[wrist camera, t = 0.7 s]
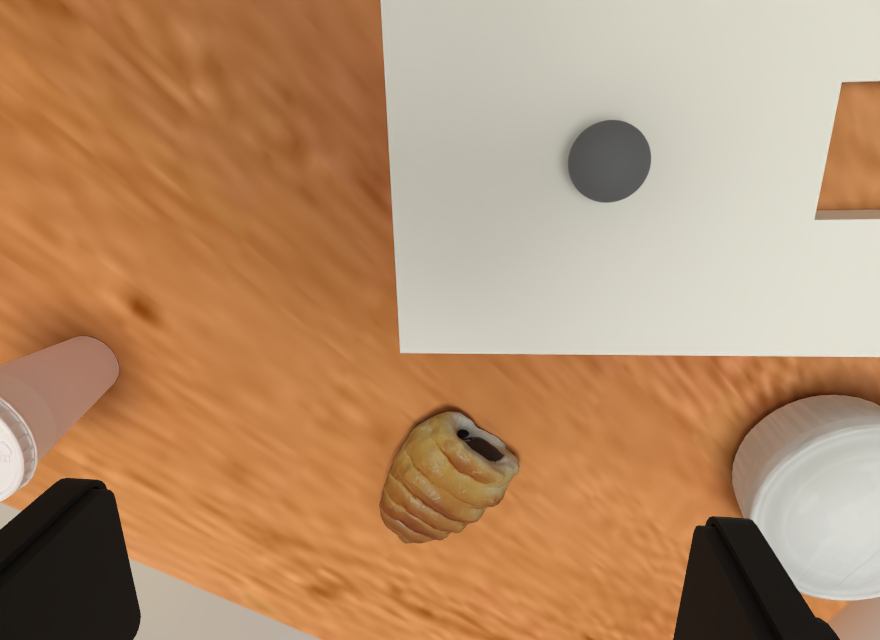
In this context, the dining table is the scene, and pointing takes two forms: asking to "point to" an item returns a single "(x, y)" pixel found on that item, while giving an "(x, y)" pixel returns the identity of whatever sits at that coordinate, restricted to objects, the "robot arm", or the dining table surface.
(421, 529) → the pastry
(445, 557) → the dining table surface
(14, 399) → the smoothie
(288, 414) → the dining table surface
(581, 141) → the ball
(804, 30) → the board
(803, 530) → the ramekin
